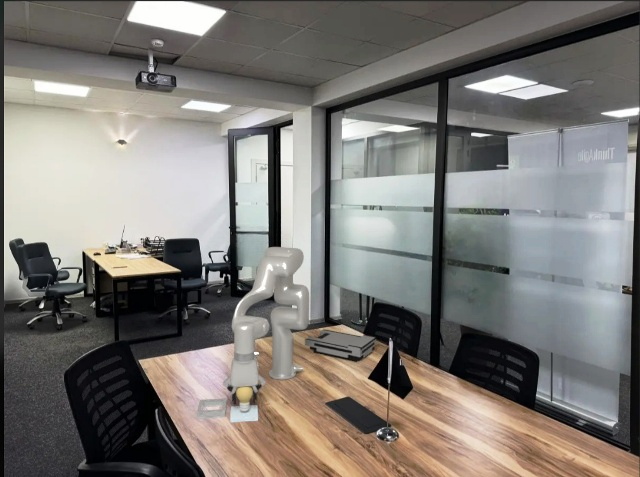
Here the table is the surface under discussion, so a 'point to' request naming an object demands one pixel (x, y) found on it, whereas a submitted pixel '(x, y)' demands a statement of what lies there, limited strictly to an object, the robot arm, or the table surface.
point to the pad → (244, 414)
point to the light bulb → (244, 397)
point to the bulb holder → (211, 413)
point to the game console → (341, 345)
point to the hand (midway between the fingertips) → (244, 401)
